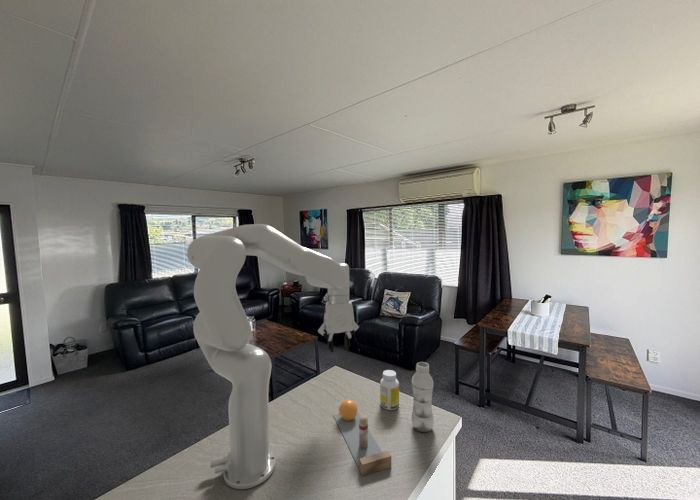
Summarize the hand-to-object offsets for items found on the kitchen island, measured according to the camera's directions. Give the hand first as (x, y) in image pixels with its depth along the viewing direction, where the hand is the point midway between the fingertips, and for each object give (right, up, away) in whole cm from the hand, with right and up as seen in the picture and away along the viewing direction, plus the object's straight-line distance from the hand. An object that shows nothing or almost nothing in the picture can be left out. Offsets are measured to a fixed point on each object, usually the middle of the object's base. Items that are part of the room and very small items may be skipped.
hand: (339, 349), depth 100 cm
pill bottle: (+18, -20, -1) cm, 26 cm away
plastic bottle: (+26, -20, -13) cm, 35 cm away
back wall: (+10, -21, -28) cm, 36 cm away
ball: (+3, -17, -8) cm, 19 cm away
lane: (+6, -20, -16) cm, 26 cm away
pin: (+8, -20, -20) cm, 30 cm away
